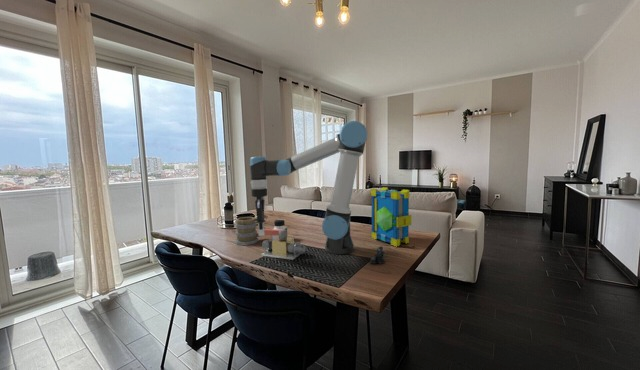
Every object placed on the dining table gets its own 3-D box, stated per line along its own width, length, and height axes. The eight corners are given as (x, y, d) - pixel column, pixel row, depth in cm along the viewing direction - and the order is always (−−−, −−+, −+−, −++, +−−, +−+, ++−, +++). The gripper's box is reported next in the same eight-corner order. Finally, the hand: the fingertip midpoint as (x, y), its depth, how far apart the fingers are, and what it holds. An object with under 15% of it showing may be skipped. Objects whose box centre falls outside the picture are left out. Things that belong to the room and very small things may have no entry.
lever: (288, 237, 139) (287, 229, 138) (285, 240, 135) (284, 231, 135) (261, 236, 143) (260, 228, 142) (257, 238, 139) (257, 230, 138)
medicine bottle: (283, 241, 159) (283, 221, 158) (272, 240, 160) (271, 221, 159) (287, 238, 166) (286, 218, 165) (276, 237, 167) (275, 218, 166)
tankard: (238, 246, 151) (236, 220, 150) (233, 241, 162) (232, 216, 161) (272, 240, 161) (271, 216, 159) (265, 235, 172) (264, 212, 170)
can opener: (384, 267, 118) (384, 254, 118) (368, 265, 121) (368, 253, 120) (389, 253, 135) (389, 242, 134) (375, 252, 137) (374, 241, 137)
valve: (309, 251, 140) (308, 238, 139) (297, 260, 128) (297, 245, 127) (271, 247, 149) (271, 234, 148) (257, 254, 137) (256, 241, 136)
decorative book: (395, 248, 141) (395, 191, 138) (366, 238, 161) (365, 188, 158) (413, 244, 148) (414, 189, 145) (384, 234, 168) (384, 186, 165)
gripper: (253, 187, 139) (256, 232, 141) (249, 189, 126) (251, 239, 128) (268, 186, 139) (270, 231, 141) (265, 189, 126) (267, 238, 128)
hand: (261, 235), depth 134 cm, fingers closed
